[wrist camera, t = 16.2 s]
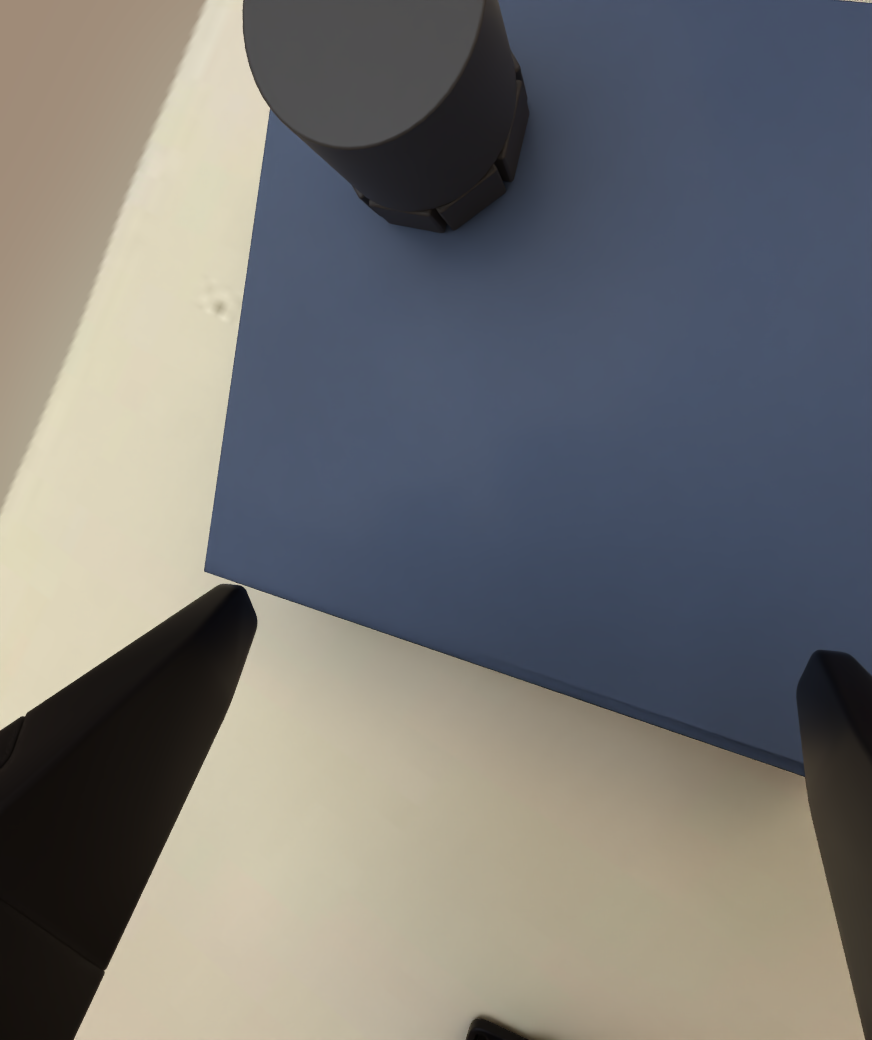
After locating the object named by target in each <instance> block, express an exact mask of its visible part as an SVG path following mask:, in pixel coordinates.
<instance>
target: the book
mask: <svg viewBox="0 0 872 1040" xmlns="http://www.w3.org/2000/svg"><path fill="white" fill-rule="evenodd" d="M498 2H499V6H500V10H501V14H502V18H503V22H504V26H505V30H506V34H507V38H508V42H509V46H510V49H511V51H512V53H513V55H514V56H515V58H516V60H517V62H518V63H519V65H520V68H521V72H522V76H523V81H524V85H525V89H526V93H527V104H528V108H529V117H528V122H527V126H526V130H525V134H524V138H523V143H522V147H521V151H520V155H519V159H518V164H517V168H516V172H515V176H514V180H513V181H512V182H508V181H503V183H504V186H505V188H506V192H505V193H504V194H503V195H502V196H500V197H499V198H498V199H496V200H495V201H494V202H492V203H491V204H490V205H488V206H487V207H486V208H484V209H483V210H482V211H480V212H479V213H478V214H476V215H475V216H474V217H472V218H471V219H470V220H468V221H467V222H466V223H464V224H463V225H462V226H460V227H459V228H458V229H456V230H452V229H451V227H450V226H449V225H448V224H446V229H445V232H444V233H438V232H433V231H427V230H422V229H417V228H412V227H406V226H401V225H396V224H390V223H389V222H387V221H386V220H385V219H384V218H383V217H382V216H381V217H380V216H379V215H378V214H377V213H375V212H374V211H373V210H372V209H371V208H370V207H368V206H367V205H366V204H365V203H364V202H363V201H362V200H360V199H359V197H358V196H357V194H356V192H355V190H354V189H353V187H352V185H351V184H350V183H349V182H348V181H347V180H346V179H345V178H344V177H342V176H341V175H340V174H339V173H338V172H337V171H336V170H335V169H333V168H332V167H331V166H330V165H329V164H328V163H327V162H326V161H325V160H323V159H322V158H321V157H320V156H319V155H318V154H317V153H316V152H315V151H313V150H312V149H311V148H310V147H309V146H308V145H307V144H306V143H304V142H303V141H302V140H301V139H300V138H299V137H298V136H297V135H296V134H294V133H293V132H292V131H291V130H290V129H289V128H288V127H287V126H286V125H284V124H283V123H282V122H281V121H280V119H279V118H278V117H277V116H276V115H275V114H274V113H273V112H272V110H271V109H270V113H269V120H268V127H267V134H266V141H265V148H264V155H263V162H262V169H261V176H260V183H259V190H258V197H257V204H256V211H255V218H254V225H253V232H252V239H251V246H250V253H249V260H248V267H247V274H246V281H245V288H244V295H243V302H242V309H241V316H240V323H239V330H238V337H237V344H236V351H235V358H234V365H233V372H232V379H231V386H230V393H229V400H228V407H227V414H226V421H225V428H224V435H223V442H222V449H221V456H220V463H219V470H218V477H217V484H216V491H215V498H214V505H213V512H212V519H211V526H210V533H209V540H208V547H207V554H206V561H205V568H204V571H205V572H207V573H210V574H213V575H216V576H219V577H222V578H225V579H228V580H231V581H233V582H236V583H239V584H242V585H245V586H248V587H251V588H254V589H257V590H260V591H263V592H266V593H269V594H272V595H274V596H277V597H280V598H283V599H286V600H289V601H292V602H295V603H298V604H301V605H304V606H307V607H310V608H312V609H315V610H318V611H321V612H324V613H327V614H330V615H333V616H336V617H339V618H342V619H345V620H348V621H350V622H353V623H356V624H359V625H362V626H365V627H368V628H371V629H374V630H377V631H380V632H383V633H386V634H389V635H391V636H394V637H397V638H400V639H403V640H406V641H409V642H412V643H415V644H418V645H421V646H424V647H427V648H429V649H432V650H435V651H438V652H441V653H444V654H447V655H450V656H453V657H456V658H459V659H462V660H465V661H468V662H470V663H473V664H476V665H479V666H482V667H485V668H488V669H491V670H494V671H497V672H500V673H503V674H506V675H508V676H511V677H514V678H517V679H520V680H523V681H526V682H529V683H532V684H535V685H538V686H541V687H544V688H547V689H549V690H552V691H555V692H558V693H561V694H564V695H567V696H570V697H573V698H576V699H579V700H582V701H585V702H587V703H590V704H593V705H596V706H599V707H602V708H605V709H608V710H611V711H614V712H617V713H620V714H623V715H626V716H628V717H631V718H634V719H637V720H640V721H643V722H646V723H649V724H652V725H655V726H658V727H661V728H664V729H666V730H669V731H672V732H675V733H678V734H681V735H684V736H687V737H690V738H693V739H696V740H699V741H702V742H704V743H707V744H710V745H713V746H716V747H719V748H722V749H725V750H728V751H731V752H734V753H737V754H740V755H743V756H745V757H748V758H751V759H754V760H757V761H760V762H763V763H766V764H769V765H772V766H775V767H778V768H781V769H783V770H786V771H789V772H792V773H795V774H798V775H801V776H804V777H805V770H804V762H803V753H802V744H801V736H800V727H799V718H798V710H797V701H796V691H797V685H798V682H799V680H800V678H801V676H802V674H803V672H804V670H805V667H806V665H807V663H808V661H809V659H810V657H811V655H812V654H813V652H815V651H816V650H830V651H839V652H845V653H848V654H850V655H851V656H853V657H854V658H855V659H856V660H857V661H858V662H859V663H860V664H861V665H862V666H863V667H864V668H865V669H866V670H867V671H868V672H869V673H870V674H871V675H872V3H864V2H853V1H842V0H498Z"/></svg>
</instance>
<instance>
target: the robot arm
mask: <svg viewBox="0 0 872 1040" xmlns="http://www.w3.org/2000/svg"><path fill="white" fill-rule="evenodd" d="M256 629H257V616H256V613H255V611H254V608H253V606H252V603H251V601H250V598H249V596H248V594H247V591H246V589H245V588H244V587H242V586H240V585H231V584H220V585H218V586H216V587H215V588H213V589H212V590H210V591H209V592H207V593H206V594H204V595H203V596H201V597H200V598H198V599H197V600H195V601H194V602H192V603H191V604H189V605H188V606H186V607H185V608H183V609H182V610H180V611H179V612H177V613H176V614H174V615H173V616H171V617H170V618H168V619H167V620H165V621H164V622H162V623H161V624H159V625H158V626H156V627H155V628H153V629H152V630H150V631H149V632H147V633H146V634H144V635H143V636H141V637H140V638H138V639H137V640H135V641H134V642H132V643H131V644H129V645H128V646H126V647H125V648H123V649H122V650H120V651H119V652H117V653H116V654H114V655H113V656H111V657H110V658H108V659H107V660H105V661H104V662H102V663H101V664H99V665H98V666H96V667H95V668H93V669H92V670H90V671H89V672H87V673H86V674H84V675H83V676H81V677H80V678H79V679H77V680H76V681H74V682H73V683H71V684H70V685H68V686H67V687H65V688H64V689H62V690H61V691H59V692H58V693H56V694H55V695H53V696H52V697H50V698H49V699H47V700H46V701H44V702H43V703H41V704H40V705H38V706H37V707H35V708H34V709H32V710H31V711H29V712H28V713H27V714H26V716H25V717H24V716H22V717H20V718H18V719H17V720H15V721H14V722H12V723H11V724H10V725H8V726H7V727H5V728H4V729H2V730H1V731H0V1040H74V1038H75V1036H76V1033H77V1031H78V1029H79V1027H80V1025H81V1023H82V1021H83V1019H84V1016H85V1014H86V1012H87V1010H88V1008H89V1006H90V1004H91V1002H92V999H93V997H94V995H95V993H96V991H97V989H98V987H99V985H100V982H101V980H102V978H103V976H104V974H105V971H104V970H106V968H107V967H108V965H109V962H110V960H111V958H112V956H113V954H114V952H115V950H116V948H117V945H118V943H119V941H120V939H121V937H122V935H123V933H124V930H125V928H126V926H127V924H128V922H129V920H130V918H131V916H132V913H133V911H134V909H135V907H136V905H137V903H138V901H139V899H140V896H141V894H142V892H143V890H144V888H145V886H146V884H147V882H148V879H149V877H150V875H151V873H152V871H153V869H154V867H155V864H156V862H157V860H158V858H159V856H160V854H161V852H162V850H163V847H164V845H165V843H166V841H167V839H168V837H169V835H170V833H171V830H172V828H173V826H174V824H175V822H176V820H177V818H178V816H179V813H180V811H181V809H182V807H183V805H184V803H185V801H186V798H187V796H188V794H189V792H190V790H191V788H192V786H193V784H194V781H195V779H196V777H197V775H198V773H199V771H200V769H201V767H202V764H203V762H204V760H205V758H206V756H207V754H208V752H209V750H210V747H211V745H212V743H213V741H214V739H215V737H216V735H217V732H218V730H219V728H220V726H221V724H222V722H223V720H224V717H225V715H226V713H227V711H228V708H229V706H230V703H231V701H232V698H233V696H234V693H235V690H236V687H237V684H238V681H239V678H240V676H241V673H242V670H243V667H244V664H245V661H246V658H247V655H248V653H249V650H250V647H251V644H252V641H253V638H254V635H255V632H256ZM796 701H797V710H798V718H799V727H800V736H801V744H802V753H803V762H804V770H805V779H806V787H807V794H808V801H809V806H810V811H811V816H812V820H813V824H814V828H815V833H816V837H817V841H818V845H819V849H820V853H821V858H822V862H823V866H824V870H825V874H826V878H827V882H828V887H829V891H830V895H831V899H832V903H833V907H834V911H835V916H836V920H837V924H838V928H839V932H840V936H841V940H842V945H843V949H844V953H845V957H846V961H847V965H848V969H849V974H850V978H851V982H852V986H853V990H854V994H855V998H856V1003H857V1007H858V1011H859V1015H860V1019H861V1023H862V1027H863V1032H864V1036H865V1040H872V675H871V674H870V673H869V672H868V671H867V670H866V669H865V668H864V667H863V666H862V665H861V664H860V663H859V662H858V661H857V660H856V659H855V658H854V657H853V656H851V655H850V654H848V653H845V652H839V651H830V650H816V651H815V652H813V654H812V655H811V657H810V659H809V661H808V663H807V665H806V667H805V670H804V672H803V674H802V676H801V678H800V680H799V682H798V685H797V691H796ZM466 1040H528V1039H526V1038H524V1037H521V1036H519V1035H517V1034H515V1033H513V1032H511V1031H509V1030H507V1029H504V1028H502V1027H500V1026H498V1025H496V1024H494V1023H492V1022H490V1021H487V1020H485V1019H475V1020H473V1021H472V1023H471V1025H470V1028H469V1031H468V1034H467V1037H466Z"/></svg>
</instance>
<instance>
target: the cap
mask: <svg viewBox="0 0 872 1040" xmlns="http://www.w3.org/2000/svg"><path fill="white" fill-rule="evenodd" d="M243 34H244V42H245V49H246V53H247V57H248V62H249V66H250V69H251V72H252V74H253V77H254V80H255V83H256V85H257V87H258V89H259V91H260V93H261V95H262V97H263V98H264V100H265V101H266V103H267V104H268V106H269V107H270V109H271V110H272V112H273V113H274V114H275V115H276V116H277V117H278V118H279V119H280V121H281V122H282V123H283V124H284V125H286V126H287V127H288V128H289V129H290V130H291V131H292V132H293V133H294V134H296V135H297V136H298V137H299V138H300V139H301V140H302V141H303V142H304V143H306V144H307V145H308V146H309V147H310V148H311V149H312V150H313V151H315V152H316V153H317V154H318V155H319V156H320V157H321V158H322V159H323V160H325V161H326V162H327V163H328V164H329V165H330V166H331V167H332V168H333V169H335V170H336V171H337V172H338V173H339V174H340V175H341V176H342V177H344V178H345V179H346V180H347V181H348V182H349V183H350V184H351V185H352V187H353V189H354V190H355V192H356V194H357V196H358V197H359V199H360V200H362V201H363V202H364V203H365V204H366V205H367V206H368V207H370V208H371V209H372V210H373V211H374V212H375V213H377V214H378V215H379V216H380V217H381V216H382V217H383V218H384V219H385V220H386V221H387V222H389V223H390V224H396V225H401V226H406V227H412V228H417V229H422V230H427V231H433V232H438V233H444V232H445V229H446V224H448V225H449V226H450V227H451V229H452V230H456V229H458V228H459V227H460V226H462V225H463V224H464V223H466V222H467V221H468V220H470V219H471V218H472V217H474V216H475V215H476V214H478V213H479V212H480V211H482V210H483V209H484V208H486V207H487V206H488V205H490V204H491V203H492V202H494V201H495V200H496V199H498V198H499V197H500V196H502V195H503V194H504V193H505V192H506V188H505V186H504V183H503V181H508V182H512V181H513V180H514V176H515V172H516V168H517V164H518V159H519V155H520V151H521V147H522V143H523V138H524V134H525V130H526V126H527V122H528V117H529V108H528V104H527V93H526V89H525V85H524V81H523V76H522V72H521V68H520V65H519V63H518V62H517V60H516V58H515V56H514V55H513V53H512V51H511V49H510V46H509V42H508V38H507V34H506V30H505V26H504V22H503V18H502V14H501V10H500V6H499V2H498V0H243Z"/></svg>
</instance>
